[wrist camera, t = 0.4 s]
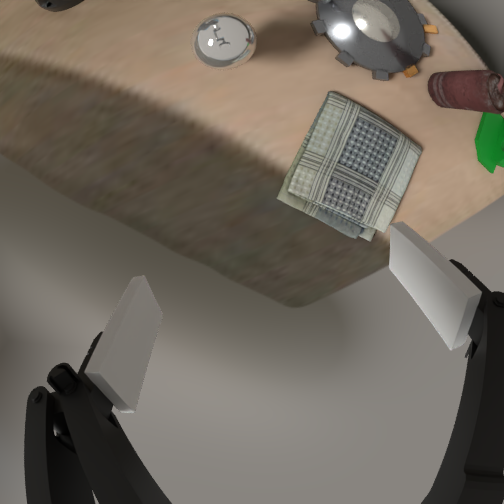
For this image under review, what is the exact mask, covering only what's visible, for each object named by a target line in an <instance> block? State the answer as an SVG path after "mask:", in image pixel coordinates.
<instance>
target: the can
mask: <svg viewBox="0 0 504 504" xmlns="http://www.w3.org/2000/svg"><path fill="white" fill-rule="evenodd" d="M428 91H429V94H430V96H431V98H432V100H433V101H434V102H435V103H436V104H437V105H438V106H440V107H444V108H454V109H464V110H472V111H480V112H487V113H493V114H501V113H502V112H504V80H503V77H502V76H501V75H500V74H497V73H495V72H493V71H491V70H469V71H451V72H439V73H434V74H433V75H431V77H430V79H429V81H428Z"/></svg>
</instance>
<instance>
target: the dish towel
mask: <svg viewBox="0 0 504 504" xmlns="http://www.w3.org/2000/svg"><path fill="white" fill-rule="evenodd" d="M421 153H422V150H421V147H420V146H419V145H417V144H416V143H414V142H413V141H411V140H410V139H409V138H408V137H407V136H405V135H404V134H403V133H401V132H400V131H399V130H397V129H396V128H395V127H394V126H392V125H391V124H389V123H388V122H386V121H385V120H383V119H382V118H380V117H379V116H377V115H376V114H374V113H372V112H371V111H369V110H367V109H366V108H364V107H362V106H360V105H358V104H357V103H355V102H353V101H351V100H349V99H347V98H345V97H344V96H341V95H339V94H337V93H335V92H332V91H329V92H328V94H327V97H326V99H325V101H324V103H323V105H322V106H321V108H320V110H319V112H318V114H317V116H316V118H315V120H314V122H313V124H312V126H311V128H310V130H309V131H308V133H307V135H306V137H305V139H304V141H303V143H302V145H301V147H300V149H299V151H298V153H297V155H296V157H295V159H294V161H293V163H292V165H291V167H290V169H289V171H288V173H287V175H286V177H285V179H284V182H283V185H282V187H281V190H280V192H279V194H278V197H277V199H279V200H281V201H283V202H284V203H286V204H288V205H290V206H292V207H294V208H297V209H299V210H300V211H303V212H305V213H306V214H308V215H311V216H313V217H314V218H317V219H319V220H320V221H322V222H324V223H326V224H327V225H329V226H331V227H333V228H335V229H337V230H338V231H340V232H342V233H343V234H345V235H347V236H349V237H351V238H354V239H356V238H357V237H358V236H360V237H362V238H365V239H366V240H368V241H371V240H372V238H373V236H374V234H375V232H376V230H377V229H378V230H380V231H382V232H383V233H385V232H386V230H387V228H388V226H389V224H390V222H391V220H392V218H393V216H394V214H395V212H396V210H397V207H398V205H399V203H400V201H401V198H402V196H403V194H404V192H405V190H406V188H407V185H408V183H409V180H410V178H411V175H412V173H413V170H414V168H415V165H416V163H417V160H418V158H419V156H420V154H421Z"/></svg>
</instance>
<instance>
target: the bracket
mask: <svg viewBox="0 0 504 504" xmlns="http://www.w3.org/2000/svg"><path fill="white" fill-rule="evenodd" d="M475 144H476V150H477V156H478V161H479V162H480V163H481V164H482V165H483V166H484V167H485V168H486V169H487V170H488V171H489V172H490V173H494V170H495V167H496V165H498V166H501V167H504V119H503V117H502V116H501V115H500V114H493V113H487V112H483V115H482V118H481V122H480V125H479V128H478V131H477V135H476V138H475Z"/></svg>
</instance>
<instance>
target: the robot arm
mask: <svg viewBox="0 0 504 504" xmlns="http://www.w3.org/2000/svg"><path fill="white" fill-rule="evenodd" d="M35 1H36V2H37V4H38V5H39V6H40V7H42V8H44V9H46V10H49V11H53V12H58V11H63V10H66V9H69V8H71V7H73V6H75V5H77V4H78V3H80V2H82V1H83V0H35ZM389 269H390V270H391V271H392V272H393V274H394V275H395V276H396V277H397V279H398V280H399V281H400V282H401V284H402V285H403V286H404V287H405V289H406V290H407V291H408V292H409V294H410V295H411V296H412V297H413V299H414V300H415V302H416V303H417V304H418V306H419V307H420V308H421V309H422V311H423V312H424V314H425V315H426V316H427V318H428V319H429V320H430V322H431V323H432V325H433V326H434V327H435V329H436V330H437V332H439V334H440V336H441V337H442V339H443V340H444V341H445V343H446V345H447V346H448V347H449V349H450V350H453V349H455V348H457V347H459V346H461V345H463V344H464V343H465V340H466V338H467V335H468V334H469V336H470V337H471V339H472V341H471V343H470V345H469V348H468V350H467V353H466V355H465V357H466V358H467V356H468V354H469V356H468V363H467V370H466V376H465V381H464V387H463V392H462V396H461V401H460V405H459V409H458V413H457V417H456V421H455V425H454V428H453V431H452V435H451V438H450V441H449V444H448V448H447V451H446V453H445V456H444V459H443V461H442V464H441V467H440V469H439V472H438V474H437V477H436V479H435V481H434V484H433V486H432V488H431V490H430V492H429V493H428V495H427V496H426V497H425V499H424V500H423V502H422V503H421V504H502V502H503V500H504V474H503V470H504V293H502V292H499V291H498V292H495V291H494V292H491V291H490V290H489V289H488V288H487V287H486V286H485V285H484V284H483V283H482V282H480V281H479V280H478V279H477V278H476V277H475V276H473V274H472V273H471V272H470V271H468V269H467V268H466V267H464V266H463V265H462V264H461V263H459V262H457V261H455V260H453V259H451V260H448V259H447V258H446V257H444V256H443V255H442V254H441V253H440V252H439V251H438V250H437V249H435V248H434V247H433V246H432V245H431V244H430V243H428V242H427V241H426V240H425V239H424V238H422V237H421V236H420V235H419V234H418V233H416V232H415V231H414V230H413V229H411V228H410V227H409V226H408V225H406V224H405V223H404V222H403V221H402V222H397V223H393V224H390V264H389ZM162 317H163V314H162V312H161V310H160V308H159V305H158V303H157V301H156V299H155V297H154V295H153V293H152V291H151V289H150V286H149V284H148V282H147V280H146V278H145V275H143V276H138V277H134V278H132V279H131V281H130V283H129V285H128V286H127V288H126V290H125V292H124V294H123V295H122V297H121V299H120V301H119V303H118V305H117V306H116V308H115V310H114V312H113V314H112V316H111V318H110V320H109V322H108V324H107V326H106V328H105V330H104V331H103V332H100V333H99V334H98V336H97V337H96V338H95V339H94V341H93V343H92V345H91V347H90V349H89V351H88V353H87V355H86V357H85V359H84V361H83V363H82V365H81V367H80V369H79V372H78V374H77V373H76V372H75V371H74V370H73V369H72V367H71V366H70V365H69V364H68V363H60V364H58V365H56V366H55V367H54V368H53V369H52V370H51V371H50V372H49V374H48V377H47V382H48V383H49V385H50V386H51V387H52V388H53V389H54V390H55V391H56V392H52V393H49V391H48V390H47V389H46V388H45V387H43V386H39V387H37V388H35V389H33V391H31V393H30V395H29V397H28V400H27V409H26V422H25V441H24V444H25V445H24V467H25V486H26V496H27V504H95V500H94V496H93V492H94V494H95V496H96V498H97V500H98V502H99V504H172V503H171V502H170V501H169V499H168V498H167V497H166V496H165V494H164V493H163V491H162V490H161V489H160V487H159V486H158V485H157V483H156V482H155V480H154V479H153V478H152V476H151V475H150V473H149V472H148V470H147V469H146V467H145V466H144V465H143V463H142V461H141V460H140V458H139V456H138V455H137V453H136V452H135V450H134V448H133V447H132V445H131V443H130V441H129V440H128V438H127V436H126V435H125V433H124V431H123V429H122V427H121V425H120V424H119V422H118V420H117V418H116V416H115V415H114V414H113V412H112V411H111V410H112V407H113V405H114V406H115V407H116V408H117V409H118V410H119V411H120V412H126V413H127V412H128V413H135V411H136V407H137V403H138V399H139V395H140V391H141V387H142V384H143V380H144V377H145V373H146V370H147V366H148V363H149V359H150V356H151V353H152V349H153V346H154V342H155V339H156V336H157V333H158V329H159V326H160V323H161V320H162ZM54 430H56V433H57V435H56V436H55V435H54ZM92 490H93V492H92Z"/></svg>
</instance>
